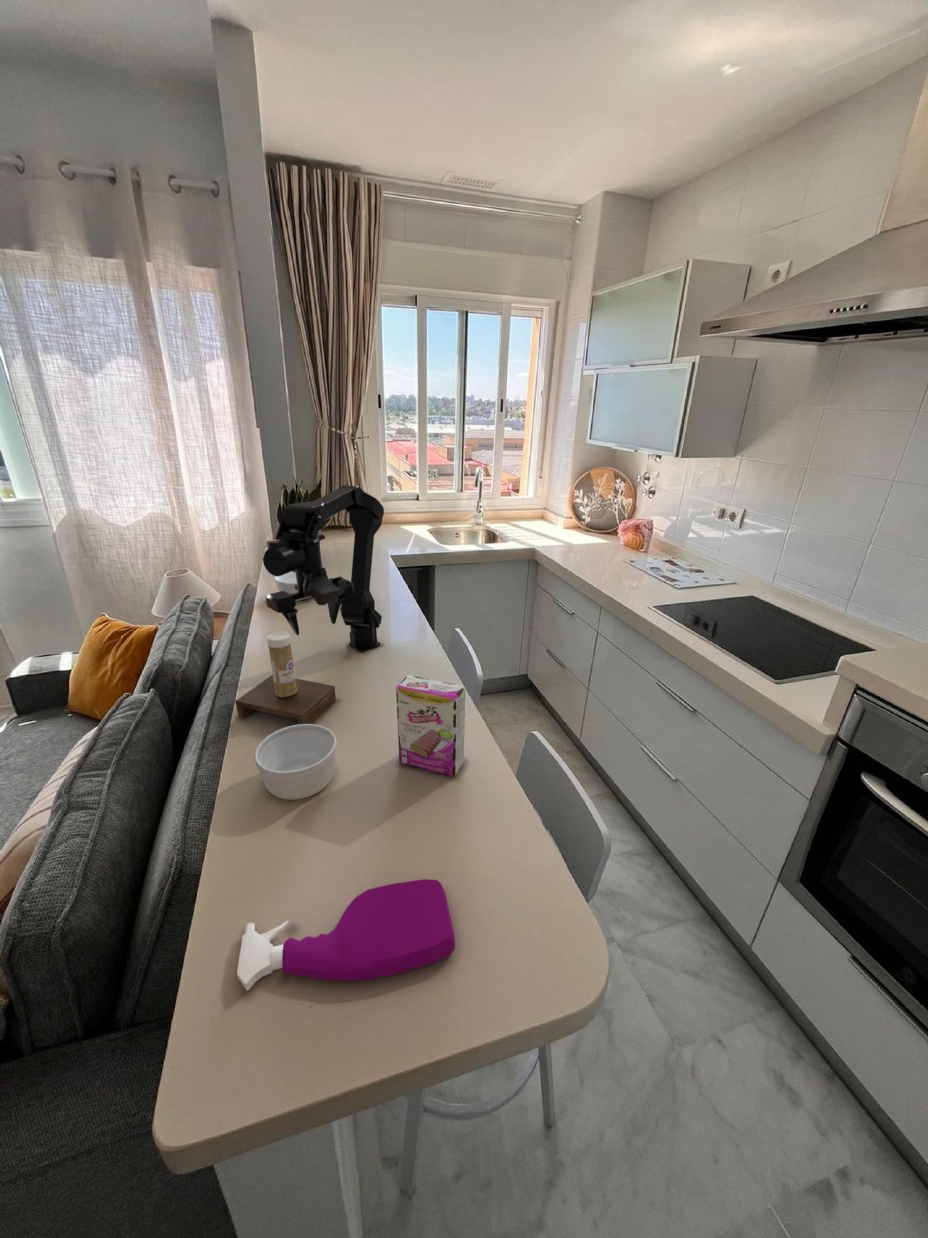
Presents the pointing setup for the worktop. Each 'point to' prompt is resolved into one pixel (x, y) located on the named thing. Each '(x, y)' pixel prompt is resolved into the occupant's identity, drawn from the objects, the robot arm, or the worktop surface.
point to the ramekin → (297, 760)
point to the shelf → (289, 700)
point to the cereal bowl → (286, 582)
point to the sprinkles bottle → (282, 663)
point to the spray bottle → (361, 938)
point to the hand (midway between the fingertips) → (315, 628)
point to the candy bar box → (431, 724)
